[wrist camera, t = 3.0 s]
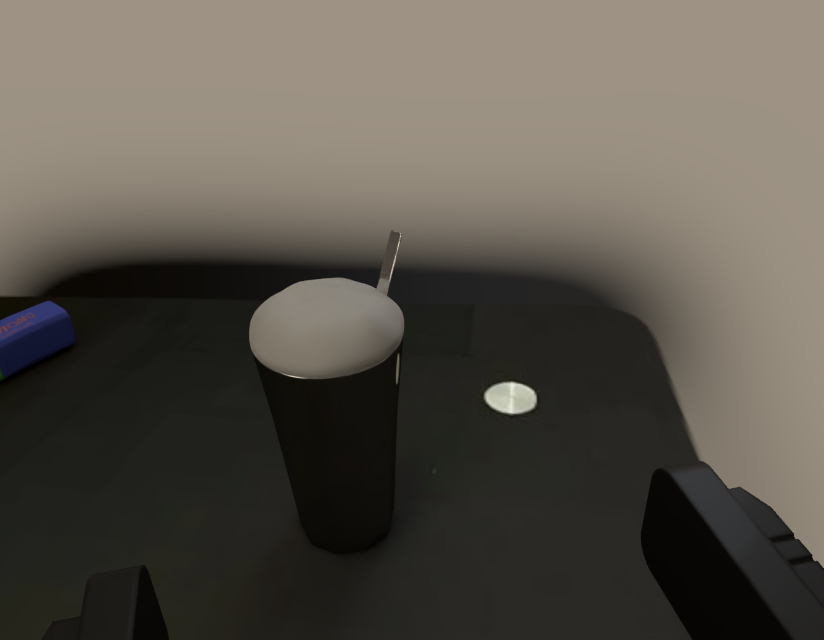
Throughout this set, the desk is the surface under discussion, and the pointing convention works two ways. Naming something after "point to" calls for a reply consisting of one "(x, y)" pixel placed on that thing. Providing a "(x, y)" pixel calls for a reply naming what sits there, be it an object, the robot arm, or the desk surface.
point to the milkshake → (335, 400)
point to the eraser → (33, 336)
